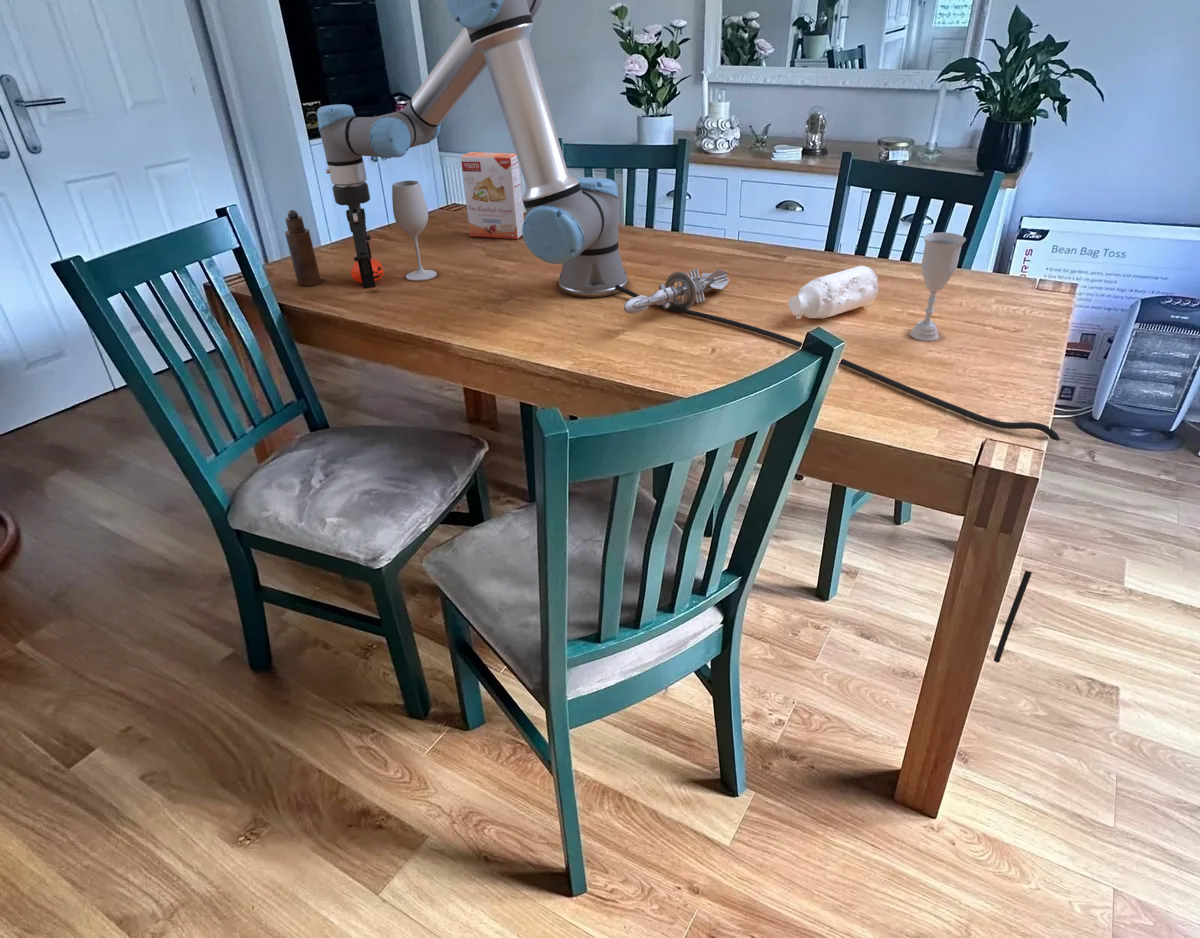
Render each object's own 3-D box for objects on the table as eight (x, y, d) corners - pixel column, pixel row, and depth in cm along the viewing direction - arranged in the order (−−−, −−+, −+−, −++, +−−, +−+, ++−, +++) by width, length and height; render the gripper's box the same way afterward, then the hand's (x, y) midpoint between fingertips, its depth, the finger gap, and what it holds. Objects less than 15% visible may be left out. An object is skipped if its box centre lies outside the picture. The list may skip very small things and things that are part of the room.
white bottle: (777, 319, 151) (781, 280, 147) (846, 298, 159) (851, 261, 155) (806, 332, 146) (810, 291, 141) (876, 309, 153) (882, 271, 149)
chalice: (913, 325, 147) (932, 230, 137) (949, 333, 143) (971, 236, 133) (898, 337, 142) (917, 240, 132) (936, 346, 138) (957, 246, 128)
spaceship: (604, 291, 145) (635, 283, 140) (707, 262, 169) (738, 254, 163) (614, 332, 147) (645, 326, 142) (715, 298, 171) (745, 291, 165)
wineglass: (433, 280, 178) (418, 186, 167) (401, 281, 179) (384, 188, 167) (440, 270, 185) (426, 179, 173) (409, 271, 185) (393, 180, 174)
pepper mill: (325, 281, 181) (308, 209, 172) (305, 287, 177) (286, 214, 168) (313, 277, 184) (296, 206, 175) (293, 283, 180) (275, 210, 171)
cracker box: (469, 237, 207) (459, 155, 196) (478, 231, 212) (469, 151, 201) (517, 240, 203) (509, 156, 192) (526, 233, 208) (518, 152, 197)
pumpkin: (387, 275, 183) (382, 248, 179) (381, 287, 176) (376, 259, 173) (357, 277, 183) (351, 250, 179) (350, 288, 176) (343, 261, 172)
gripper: (332, 173, 176) (351, 264, 188) (330, 198, 156) (352, 298, 168) (365, 170, 178) (383, 260, 190) (368, 194, 158) (387, 293, 169)
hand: (368, 278), depth 179 cm, fingers open, 13 cm apart
